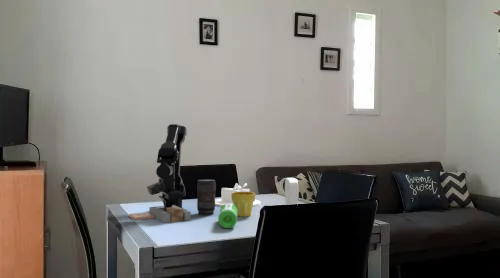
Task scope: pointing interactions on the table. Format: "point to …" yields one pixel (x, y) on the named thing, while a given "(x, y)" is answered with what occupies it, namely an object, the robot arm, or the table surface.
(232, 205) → the speaker
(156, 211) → the pocket board
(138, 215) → the terracotta tile
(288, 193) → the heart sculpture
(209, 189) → the camera lens
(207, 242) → the table surface
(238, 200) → the plant pot
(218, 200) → the dish
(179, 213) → the walnut block
